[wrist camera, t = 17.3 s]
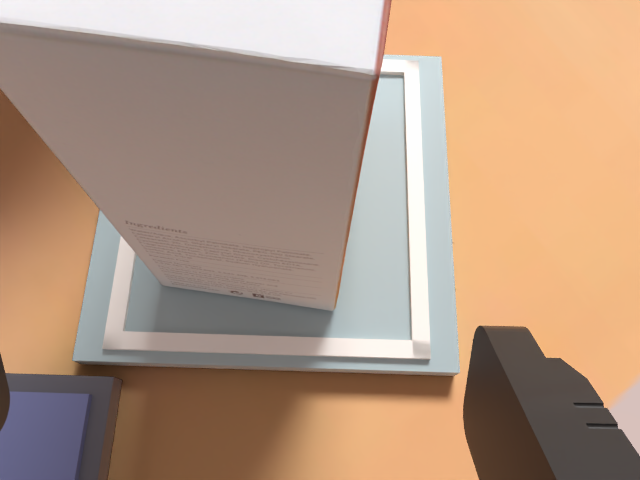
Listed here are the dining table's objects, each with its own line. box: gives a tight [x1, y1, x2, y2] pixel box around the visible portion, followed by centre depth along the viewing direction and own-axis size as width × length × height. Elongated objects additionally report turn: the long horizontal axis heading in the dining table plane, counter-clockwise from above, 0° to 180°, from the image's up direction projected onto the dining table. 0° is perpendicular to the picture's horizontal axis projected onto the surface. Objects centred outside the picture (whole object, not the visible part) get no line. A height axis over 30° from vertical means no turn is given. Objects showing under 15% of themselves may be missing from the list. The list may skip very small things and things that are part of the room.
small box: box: [0, 0, 391, 311], centre depth 15 cm, size 8×6×13 cm
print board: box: [72, 55, 460, 376], centre depth 22 cm, size 13×13×1 cm
